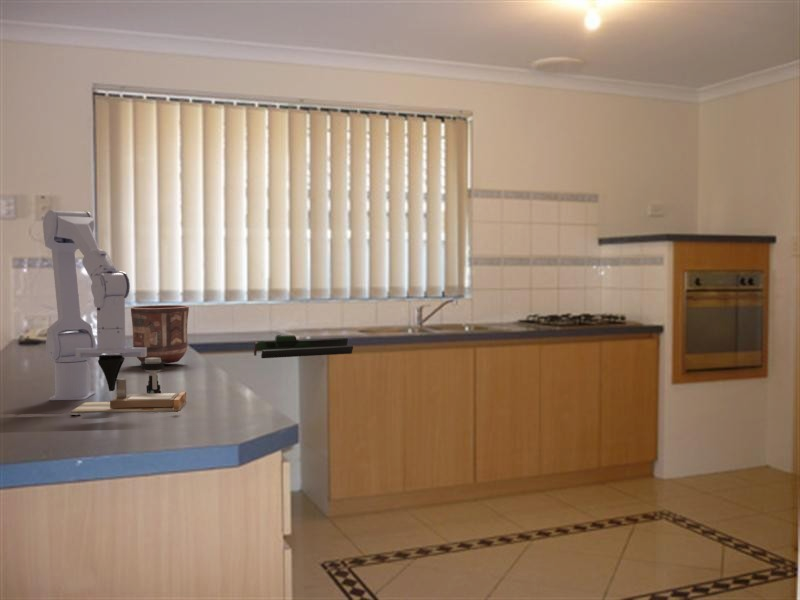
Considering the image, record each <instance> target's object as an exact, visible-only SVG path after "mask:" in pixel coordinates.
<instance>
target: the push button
mask: <svg viewBox="0 0 800 600" xmlns="http://www.w3.org/2000/svg"><path fill="white" fill-rule="evenodd" d="M140 365H141V369H142V370H143V371H144V372H145V373H148V374H149V375H148V381H147V382H148V383H147V384H148V385H145V386H146V394H154V393H162V391H161V384H159V380H158V378H159V377H158V372H161V371H162V370H164V369H165V362H162V361H161V358H157V357H153V358H145V361H144V362H140Z"/></svg>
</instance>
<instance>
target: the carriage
mask: <svg viewBox="0 0 800 600" xmlns="http://www.w3.org/2000/svg"><path fill="white" fill-rule="evenodd" d="M115 385H116V396H115V397H114V398H112V399H110V400H109V402H110V408H131V407H173V406H174V399H175V398H176V397H177V396H178V395H179V394H180V393H177V392H170V393H169V392H165V393H164V392H163V393H162V392H161V393H154V394H148V393H134V394H132V393H130V394H127V379H126V378H117V379H116V384H115Z"/></svg>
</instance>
